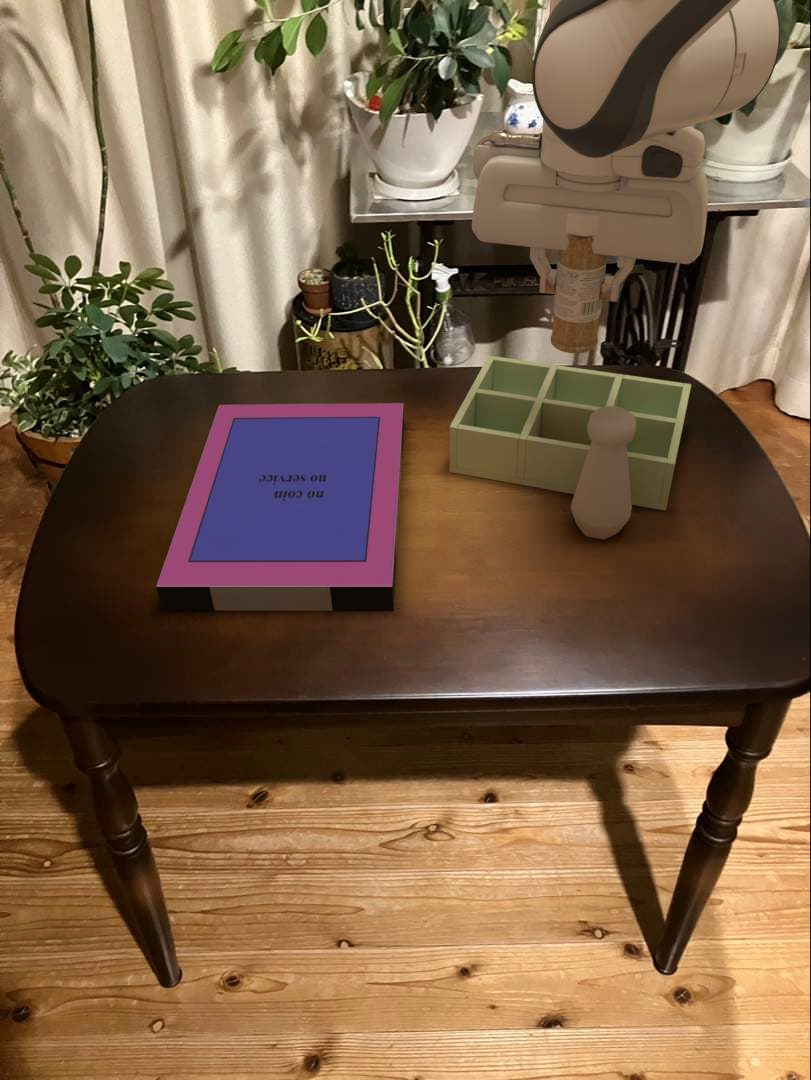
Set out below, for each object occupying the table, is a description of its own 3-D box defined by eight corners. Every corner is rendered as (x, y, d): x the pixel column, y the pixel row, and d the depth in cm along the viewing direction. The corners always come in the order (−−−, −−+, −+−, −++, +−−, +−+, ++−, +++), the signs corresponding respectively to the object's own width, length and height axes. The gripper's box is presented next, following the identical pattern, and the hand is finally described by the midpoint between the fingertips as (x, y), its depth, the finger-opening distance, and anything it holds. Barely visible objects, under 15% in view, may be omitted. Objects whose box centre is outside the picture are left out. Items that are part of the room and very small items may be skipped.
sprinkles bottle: (585, 330, 90) (601, 192, 81) (605, 351, 86) (622, 211, 78) (542, 336, 89) (552, 198, 80) (559, 359, 86) (572, 217, 77)
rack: (682, 428, 102) (691, 383, 99) (665, 510, 92) (674, 464, 88) (487, 398, 109) (488, 355, 105) (449, 472, 98) (449, 426, 94)
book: (403, 403, 103) (392, 586, 80) (404, 425, 105) (393, 610, 82) (219, 404, 104) (156, 586, 81) (223, 426, 106) (163, 610, 83)
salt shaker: (626, 509, 92) (644, 398, 83) (631, 546, 88) (650, 433, 79) (567, 506, 92) (579, 396, 84) (569, 543, 88) (582, 431, 80)
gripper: (463, 141, 76) (461, 295, 85) (718, 161, 71) (687, 324, 80) (483, 118, 80) (479, 268, 89) (724, 136, 75) (694, 293, 84)
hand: (579, 294), depth 84 cm, fingers closed on sprinkles bottle, 4 cm apart
